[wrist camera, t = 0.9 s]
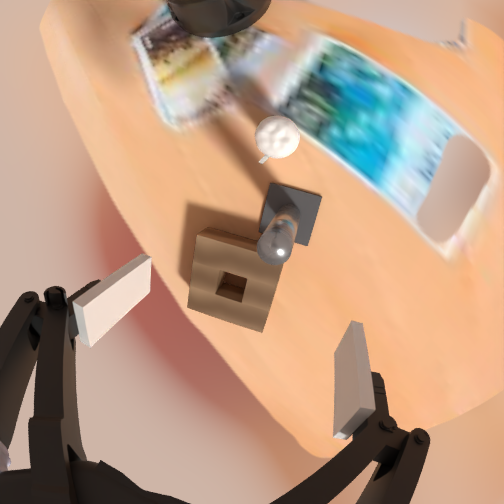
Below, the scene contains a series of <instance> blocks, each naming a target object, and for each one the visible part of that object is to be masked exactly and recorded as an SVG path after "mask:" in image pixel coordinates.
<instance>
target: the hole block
mask: <svg viewBox="0 0 504 504" xmlns="http://www.w3.org/2000/svg"><path fill="white" fill-rule="evenodd" d="M257 243H258V241H255V240H251V239H248V238H244V237H241V236H237V235H234V234H230V233H227V232H223V231H220V230H216V229H213V228H209V227H207V228H206V229H204V230H203V231H201V232H200V233H199V234H197V237H196V244H195V250H194V257H193V265H192V272H191V280H190V288H189V296H188V305H187V308H190V309H193V310H195V311H198V312H201V313H204V314H207V315H209V316H212V317H215V318H218V319H221V320H224V321H227V322H230V323H233V324H236V325H239V326H242V327H245V328H248V329H252V330H255V331H258V332H261V333H262V332H263V329H264V326H265V323H266V320H267V317H268V314H269V310H270V307H271V304H272V301H273V297H274V294H275V291H276V287H277V284H278V281H279V277H280V274H281V271H282V267H283V264H284V263H283V264H280V265H270V264H267V263H265V262H264V261H263V260H262V259H261V258H260V257H259V255H258V253H257ZM226 272H228V273H231V274H234V275H238V276H241V277H244V278H247V283H246V287H245V289H243V288H240V287H237V286H234V285H231V284H228V283H224V279H225V274H226Z"/></svg>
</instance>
